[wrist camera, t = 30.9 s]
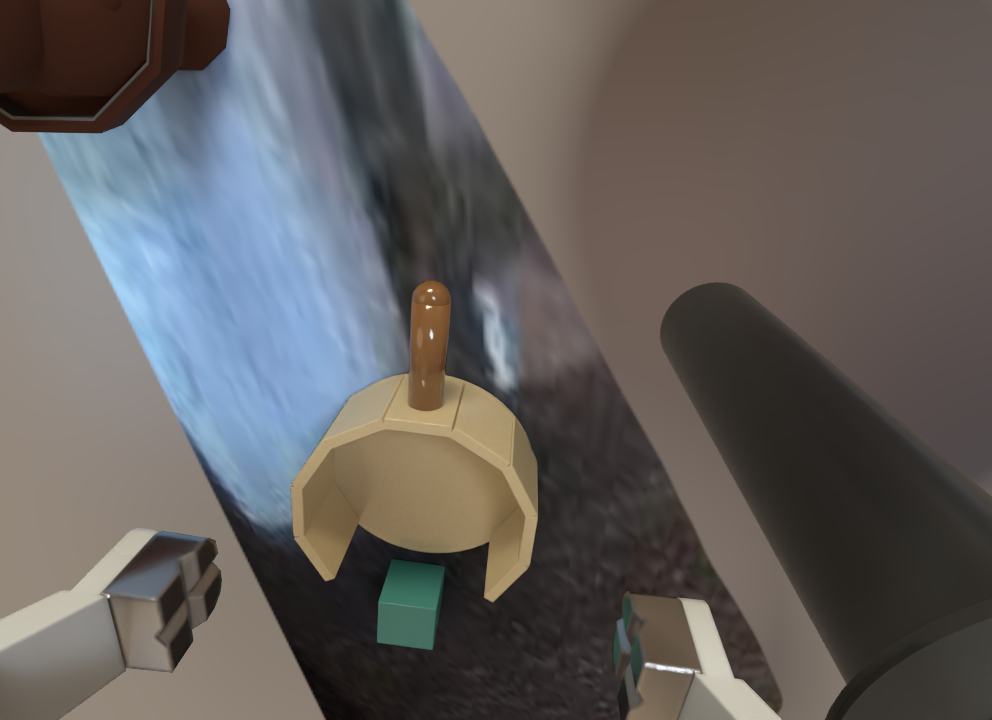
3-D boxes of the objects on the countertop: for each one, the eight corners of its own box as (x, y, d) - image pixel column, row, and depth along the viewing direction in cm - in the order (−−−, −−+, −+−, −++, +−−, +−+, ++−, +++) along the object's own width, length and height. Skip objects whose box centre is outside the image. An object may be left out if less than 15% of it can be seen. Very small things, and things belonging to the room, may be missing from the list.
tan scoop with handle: (566, 277, 31) (573, 311, 26) (520, 558, 40) (518, 629, 34) (321, 248, 31) (277, 276, 26) (329, 534, 40) (296, 601, 34)
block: (436, 609, 37) (432, 650, 39) (445, 565, 41) (441, 604, 42) (378, 602, 37) (376, 643, 39) (391, 558, 41) (390, 597, 42)
